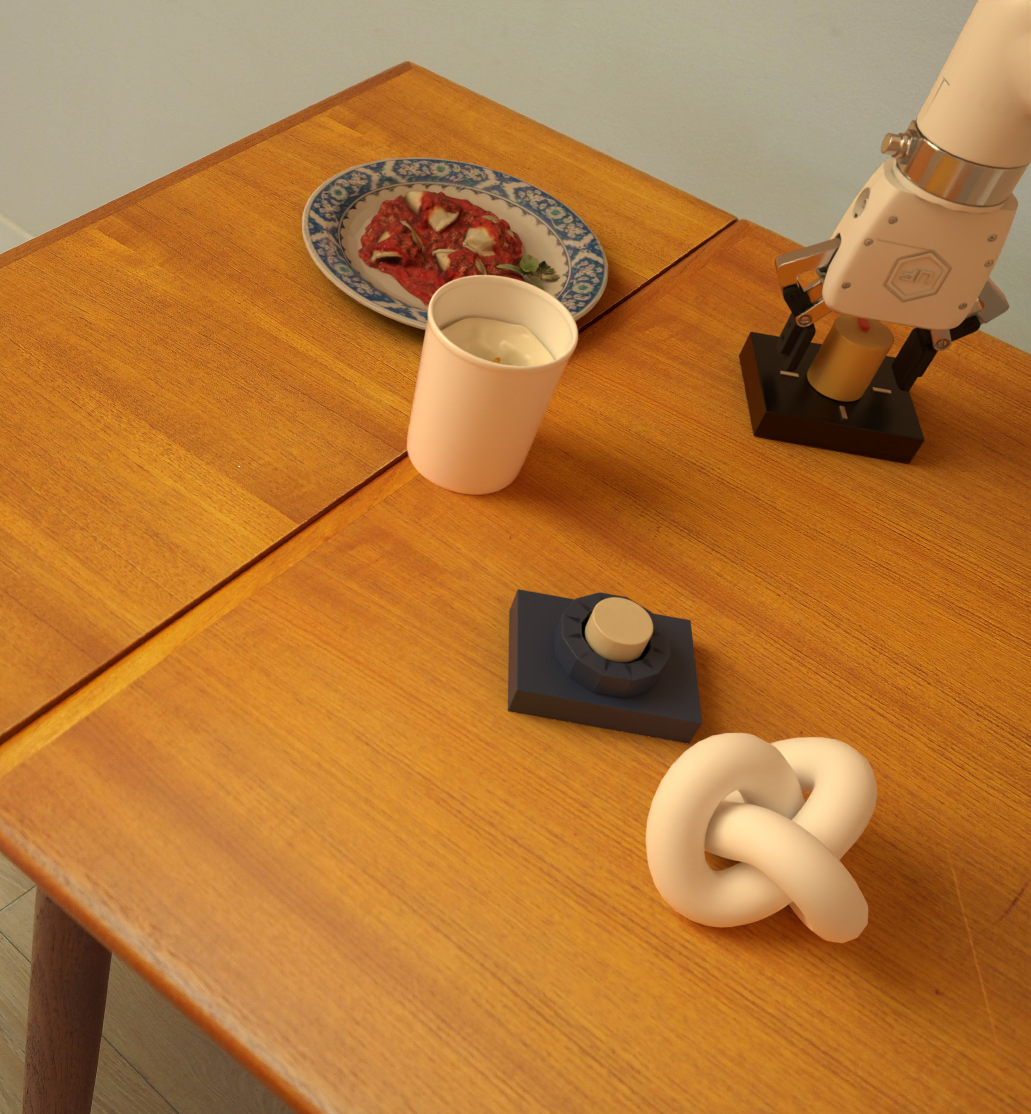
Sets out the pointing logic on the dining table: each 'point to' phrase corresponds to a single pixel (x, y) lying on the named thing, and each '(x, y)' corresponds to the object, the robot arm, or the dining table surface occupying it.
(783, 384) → the black dial base
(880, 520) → the dining table surface
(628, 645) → the bell button
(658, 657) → the push button box
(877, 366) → the lock knob
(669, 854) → the white knot sculpture
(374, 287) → the ceramic plate
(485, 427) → the candle holder
